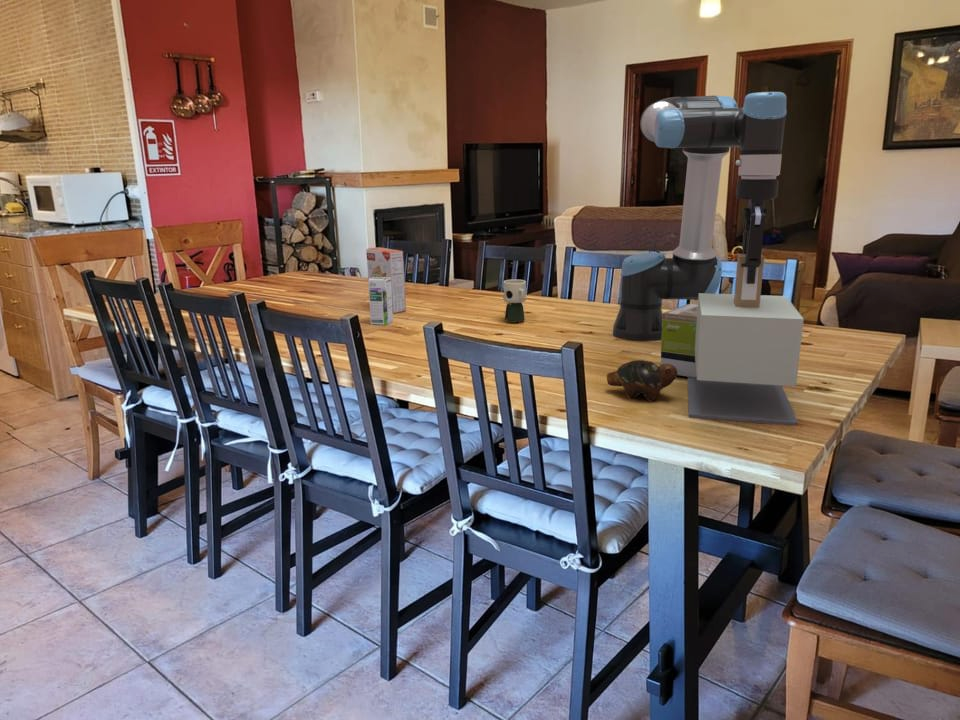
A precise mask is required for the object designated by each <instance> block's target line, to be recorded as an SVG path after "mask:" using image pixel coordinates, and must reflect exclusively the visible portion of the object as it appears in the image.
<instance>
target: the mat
mask: <svg viewBox="0 0 960 720" xmlns="http://www.w3.org/2000/svg"><path fill="white" fill-rule="evenodd" d="M687 400H688V401H687V403H688V405H687V406H688V418H691V419H692V418H693V419H694V418H695V419H703V420H705V419H706V420H707V419H708V420H716V421H718V420H719V421H731V422H733V421H734V422H742V423H743V422H746V423H755V424H756V423H759V424H771V425H772V424H773V425H781V426H782V425H783V426H794V427H795V426H796V427H797V426H799V421H798V419H797V417H796V415H795V412H794V411H793V407H792V406H791V404H790V401H789V399H788V397H787V395H786V392H785V390H784V387H783V385H769V384H753V383H737V382H722V381H706V380H697V378H693V377H687Z"/></svg>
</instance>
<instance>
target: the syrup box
mask: <svg viewBox="0 0 960 720" xmlns="http://www.w3.org/2000/svg"><path fill="white" fill-rule="evenodd" d="M367 279H368V278H367ZM367 281H368V283H367V284H368V285H367V286H368V287H367V288H368V299H369V300H368V301H369V315H370V317H369V320H370V322H369V323H370V325H371V326H372V325H376V326H379V325H380V326H381V325H382V326H387V325H389V324H391V323H393V322H394V317H393V316H394V314H393V311H392V290H391V277H372V278H370V279H368V280H367Z"/></svg>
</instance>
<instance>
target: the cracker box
mask: <svg viewBox="0 0 960 720" xmlns="http://www.w3.org/2000/svg"><path fill="white" fill-rule="evenodd" d="M365 251H366V264H367V265H366V266H367V279H370V278H372V277H391V290H392V311H393V315H395V314H397V313H398V314H399V313H403V312H406V311H407V304H406V303H407V301H406V286H405V263H404V251H403V250H399V249H391V248H385V247H382V246H381V247H379V246H378V247H370V248H366V249H365Z"/></svg>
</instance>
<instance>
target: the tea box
mask: <svg viewBox="0 0 960 720" xmlns="http://www.w3.org/2000/svg"><path fill="white" fill-rule="evenodd" d="M697 308H698V304H691V303H687V304H685V305H682V306H679V307H676V308H673V309H670V310H667V311H665V312H662V313H663V317H662V339H661V341H660V342H661V345H660V363H659V364H660V366H661V365H662V364H671V365H673V366H675V367H676V369H677V376H680V377H681V376H682V377H687V378H688V377H692V378H697V376H696V363H695V336H696V322H697ZM660 366H659V367H660Z"/></svg>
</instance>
